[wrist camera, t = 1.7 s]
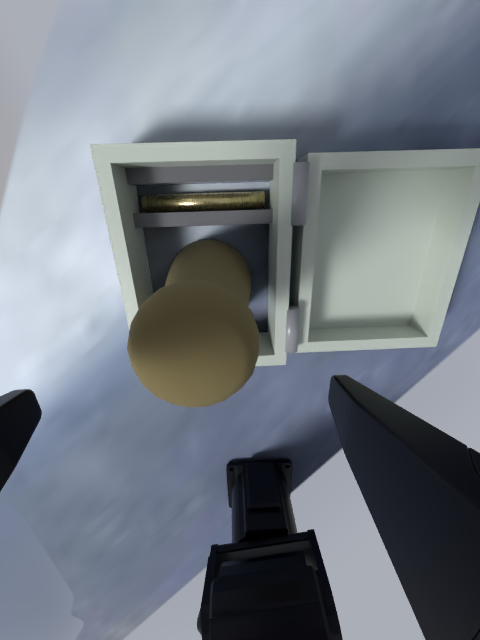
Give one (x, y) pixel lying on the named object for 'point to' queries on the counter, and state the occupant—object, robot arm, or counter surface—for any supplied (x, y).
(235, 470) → the robot arm
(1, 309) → the counter surface
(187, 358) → the cork
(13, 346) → the counter surface
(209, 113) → the counter surface
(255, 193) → the rod
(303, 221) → the case
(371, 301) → the lid
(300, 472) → the counter surface
